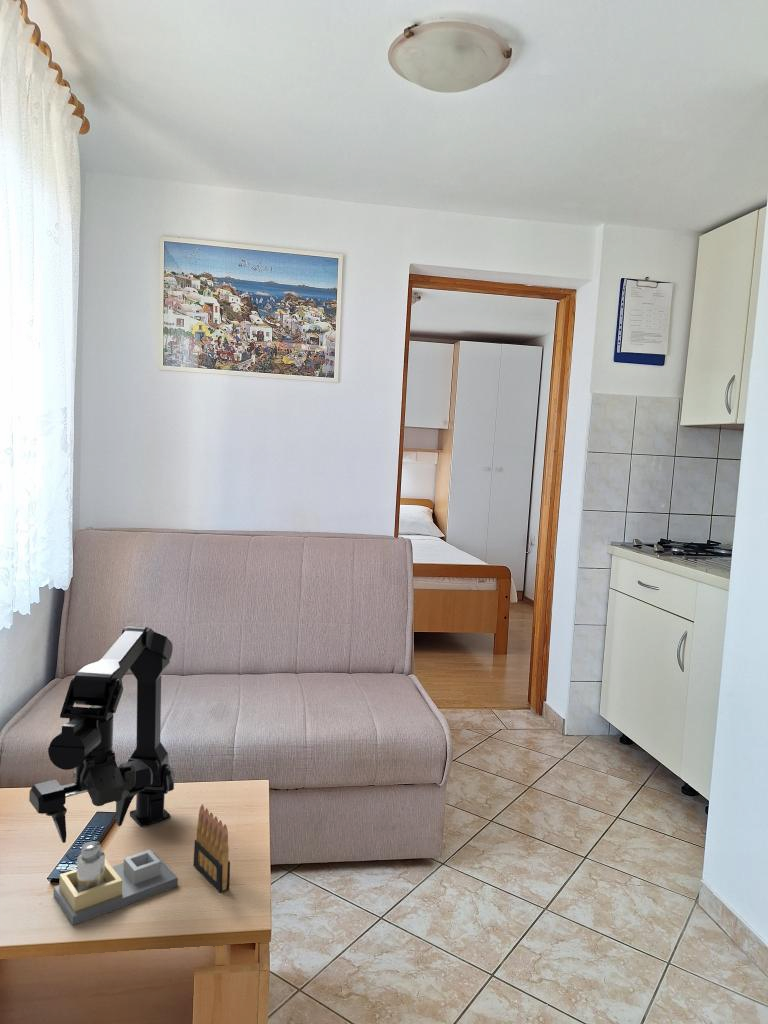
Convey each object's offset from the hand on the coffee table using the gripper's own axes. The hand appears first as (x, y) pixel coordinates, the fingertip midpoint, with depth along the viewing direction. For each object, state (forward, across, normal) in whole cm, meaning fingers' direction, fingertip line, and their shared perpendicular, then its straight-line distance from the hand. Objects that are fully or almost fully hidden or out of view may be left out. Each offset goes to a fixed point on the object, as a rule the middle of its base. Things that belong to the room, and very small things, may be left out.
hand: (91, 833), depth 120 cm
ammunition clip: (+12, +20, -6) cm, 24 cm away
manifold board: (+12, +5, 0) cm, 13 cm away
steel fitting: (+10, 0, 0) cm, 10 cm away
